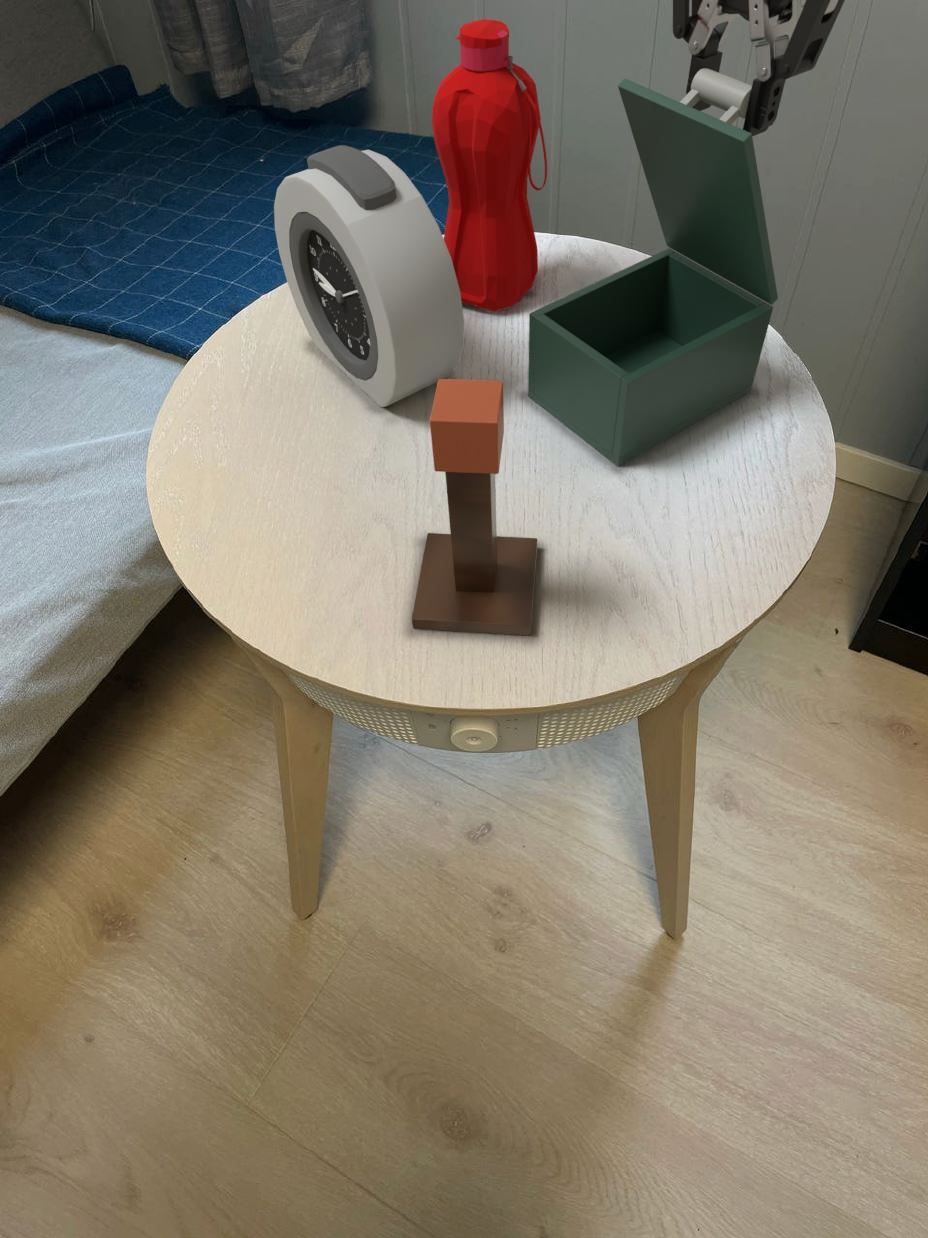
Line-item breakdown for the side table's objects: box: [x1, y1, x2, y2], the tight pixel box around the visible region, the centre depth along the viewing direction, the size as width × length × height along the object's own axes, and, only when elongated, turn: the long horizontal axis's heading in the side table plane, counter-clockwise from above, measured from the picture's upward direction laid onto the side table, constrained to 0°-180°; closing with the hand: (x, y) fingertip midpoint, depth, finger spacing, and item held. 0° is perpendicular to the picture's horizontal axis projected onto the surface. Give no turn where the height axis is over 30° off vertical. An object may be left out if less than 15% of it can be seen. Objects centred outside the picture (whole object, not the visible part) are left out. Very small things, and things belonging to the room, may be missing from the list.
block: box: [429, 378, 505, 475], centre depth 55 cm, size 4×4×4 cm
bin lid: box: [617, 68, 779, 306], centre depth 69 cm, size 18×13×5 cm
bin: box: [527, 247, 774, 467], centre depth 78 cm, size 17×13×9 cm
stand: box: [411, 472, 538, 636], centre depth 62 cm, size 9×9×14 cm
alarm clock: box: [273, 144, 465, 408], centre depth 79 cm, size 21×8×20 cm, turn 36°
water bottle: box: [431, 18, 548, 312], centre depth 83 cm, size 9×11×25 cm
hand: (726, 118), depth 65 cm, fingers closed on bin lid, 5 cm apart
